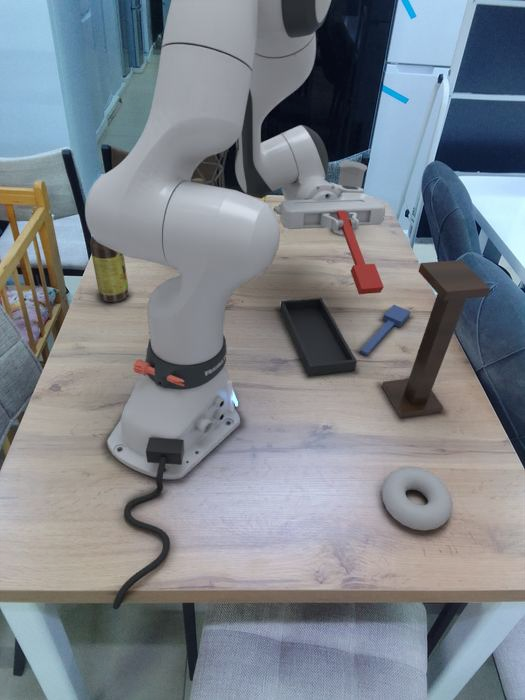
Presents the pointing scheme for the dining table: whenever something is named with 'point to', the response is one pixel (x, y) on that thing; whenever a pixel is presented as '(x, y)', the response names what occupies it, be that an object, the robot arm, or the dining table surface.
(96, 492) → the dining table surface
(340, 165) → the chalice
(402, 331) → the dining table surface
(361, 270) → the red spoon
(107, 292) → the sauce bottle
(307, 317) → the tray
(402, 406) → the brown stand
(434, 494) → the donut
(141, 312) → the dining table surface
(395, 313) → the blue spoon
